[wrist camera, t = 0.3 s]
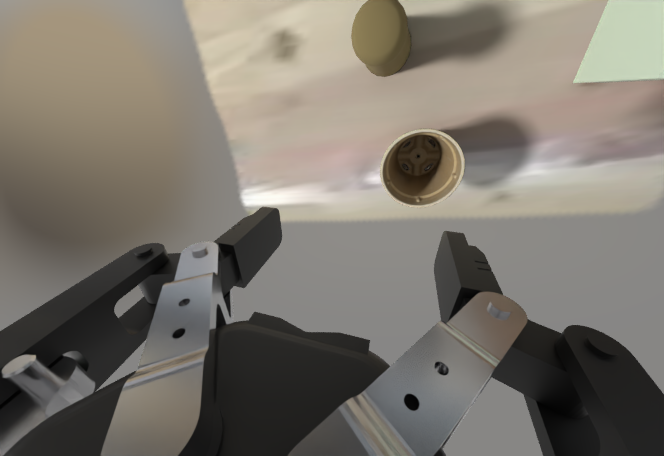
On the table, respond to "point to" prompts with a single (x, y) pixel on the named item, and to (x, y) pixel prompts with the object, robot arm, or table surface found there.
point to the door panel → (626, 44)
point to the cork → (381, 36)
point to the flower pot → (422, 168)
